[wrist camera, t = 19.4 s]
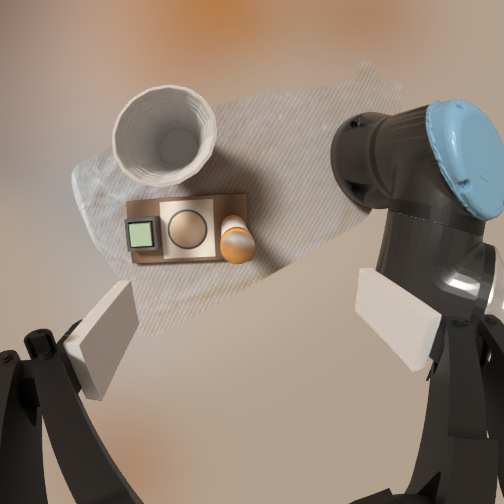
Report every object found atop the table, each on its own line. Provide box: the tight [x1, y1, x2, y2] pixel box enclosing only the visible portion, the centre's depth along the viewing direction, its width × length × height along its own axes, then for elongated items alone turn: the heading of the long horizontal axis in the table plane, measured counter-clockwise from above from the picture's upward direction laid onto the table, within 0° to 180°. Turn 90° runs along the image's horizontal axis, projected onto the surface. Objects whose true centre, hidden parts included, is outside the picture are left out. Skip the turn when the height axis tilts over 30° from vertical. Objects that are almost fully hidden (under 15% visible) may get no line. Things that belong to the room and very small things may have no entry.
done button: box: [129, 221, 154, 247], centre depth 35 cm, size 3×3×2 cm
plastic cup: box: [112, 85, 217, 187], centre depth 29 cm, size 11×11×12 cm
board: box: [125, 194, 248, 263], centre depth 36 cm, size 17×9×3 cm, turn 91°
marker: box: [220, 215, 255, 264], centre depth 32 cm, size 3×3×12 cm
